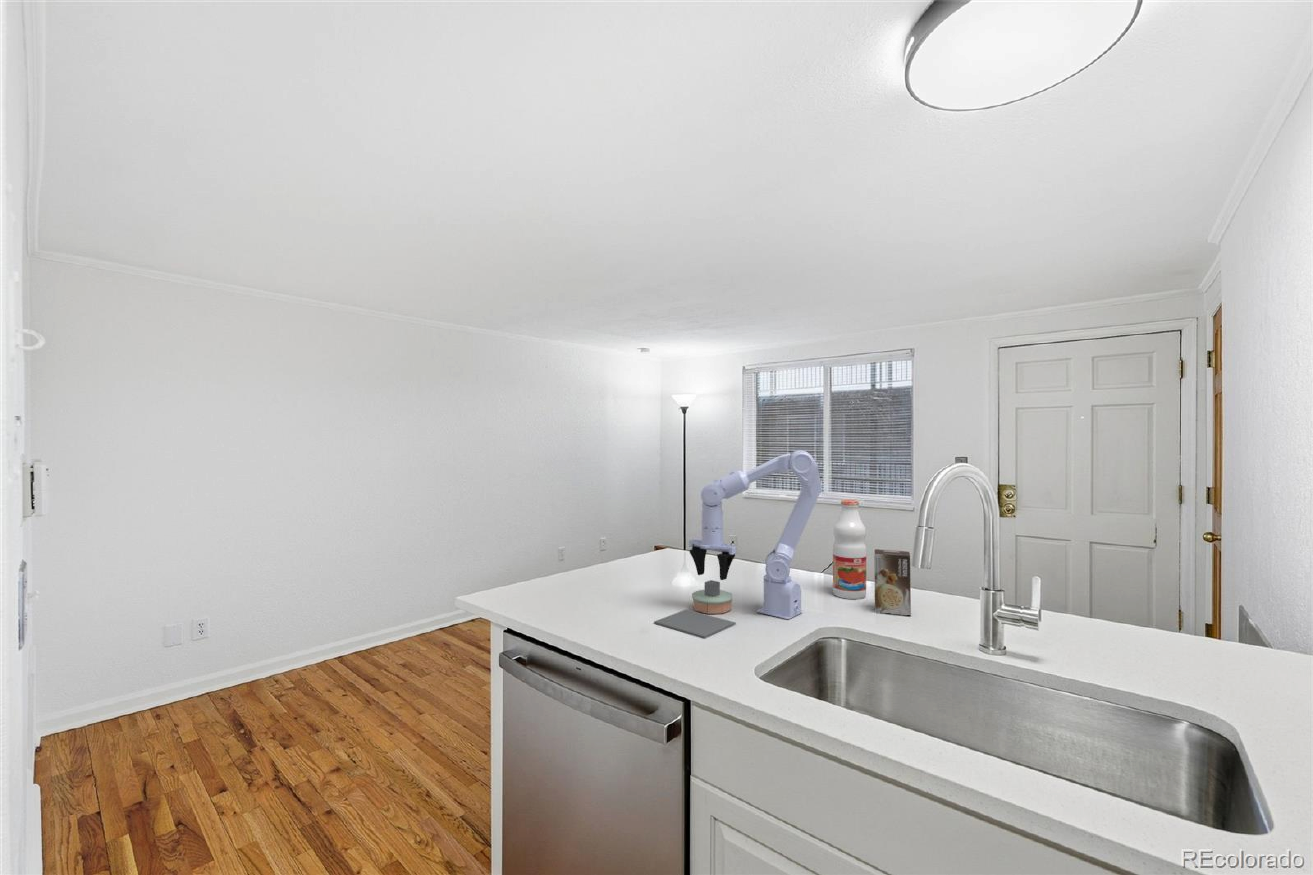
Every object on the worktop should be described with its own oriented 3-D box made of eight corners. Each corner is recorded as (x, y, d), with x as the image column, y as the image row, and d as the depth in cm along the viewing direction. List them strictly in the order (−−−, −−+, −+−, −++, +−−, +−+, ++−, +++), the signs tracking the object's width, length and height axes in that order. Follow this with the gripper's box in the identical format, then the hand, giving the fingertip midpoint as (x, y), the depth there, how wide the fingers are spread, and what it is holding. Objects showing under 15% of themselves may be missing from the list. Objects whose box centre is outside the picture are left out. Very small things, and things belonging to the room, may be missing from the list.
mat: (735, 624, 149) (735, 622, 149) (704, 638, 139) (704, 636, 139) (685, 611, 159) (685, 609, 159) (654, 623, 150) (654, 621, 150)
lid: (740, 597, 162) (740, 581, 162) (716, 606, 154) (716, 590, 154) (707, 589, 169) (707, 574, 169) (683, 598, 161) (683, 582, 161)
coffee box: (910, 610, 160) (910, 551, 160) (911, 617, 154) (911, 556, 154) (874, 606, 164) (874, 548, 163) (873, 612, 158) (874, 553, 157)
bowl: (737, 608, 162) (737, 597, 162) (716, 617, 155) (716, 605, 155) (708, 600, 169) (708, 590, 169) (686, 609, 161) (686, 598, 161)
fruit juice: (857, 590, 179) (858, 498, 179) (871, 599, 170) (872, 502, 169) (827, 591, 178) (828, 498, 178) (840, 600, 169) (840, 503, 169)
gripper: (682, 526, 163) (682, 575, 163) (725, 532, 153) (725, 584, 154) (697, 523, 168) (697, 570, 169) (740, 529, 159) (740, 579, 159)
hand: (711, 576), depth 162 cm, fingers open, 7 cm apart
